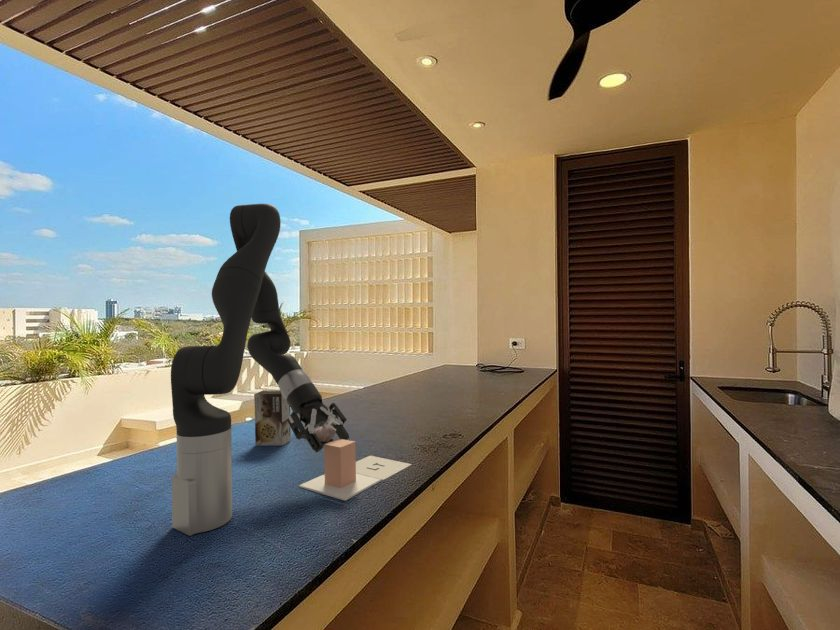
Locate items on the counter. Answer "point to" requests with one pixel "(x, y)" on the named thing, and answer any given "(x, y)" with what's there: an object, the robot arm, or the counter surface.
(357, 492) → the beige board
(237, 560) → the counter surface
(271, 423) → the coffee box
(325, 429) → the garlic bulb
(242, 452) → the counter surface
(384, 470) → the cream tile
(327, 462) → the block
